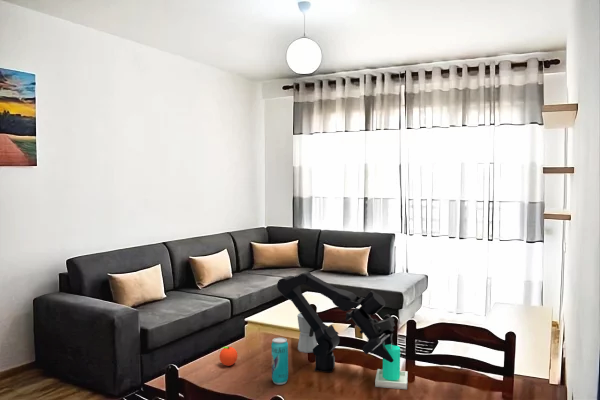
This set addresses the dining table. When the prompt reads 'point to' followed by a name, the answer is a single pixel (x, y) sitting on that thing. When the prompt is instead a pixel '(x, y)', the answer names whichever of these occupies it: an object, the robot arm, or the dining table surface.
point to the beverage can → (279, 360)
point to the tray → (395, 384)
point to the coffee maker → (306, 336)
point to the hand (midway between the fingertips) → (395, 358)
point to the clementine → (228, 356)
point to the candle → (392, 363)
